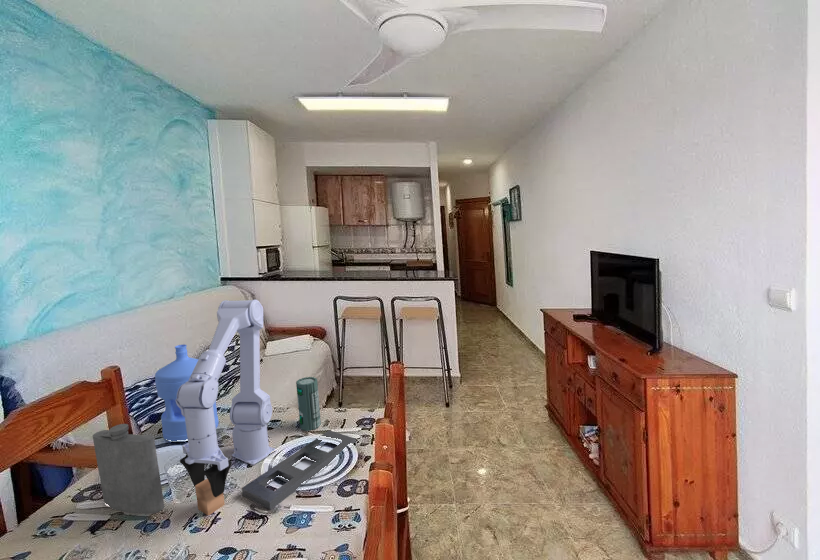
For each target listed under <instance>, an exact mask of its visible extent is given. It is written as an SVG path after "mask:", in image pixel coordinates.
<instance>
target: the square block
mask: <svg viewBox="0 0 820 560" xmlns="http://www.w3.org/2000/svg"><path fill="white" fill-rule="evenodd" d="M194 489H195V497H196V504H197V510H199V511H200V512H201V513H203V514H204V515H206V516H210V515H212V514H213V513H215V512H216V511H218V510H220V509H221V508H222V507H224V506H225V505H226V504H225V495H224V493H222V494H221V495H219V496H217V497H214V496H213V493H212V490H211V486H210V483H209V481H208V479H207V478H206V479H205V480H204V481H202V482H200V483H199V484H197V485H195V486H194Z"/></svg>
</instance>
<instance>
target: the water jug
mask: <svg viewBox="0 0 820 560" xmlns="http://www.w3.org/2000/svg"><path fill="white" fill-rule="evenodd" d="M174 349H175V356H176V357H175V358H176V359H175V360H173V361H171V362H170V363H168V364H166V365H165V366H163V367H161V368H159V369H158V370H157V371H156V372H155V373H154V378H155V379H154V382H155V383H154V384H155V388H156V394H157V396H158V398H160V399H162V400H163V401H164V406H165V410H164V411H163V413H162V414H161V416H160V418H161V419H160V420H161V427H162V437H163V439H164V440H165V439H167V440H171V441H177V440H186V439H188V437H187V430H186V422H185V417H184V416H183V415H182V413H181V409H180V408H179V407H178V406H177V404H176V399H177V392H178V389H179V388H180V386H181V385H183V384H185V382H187V381H188V380H189V378H190V376H191V374H192V372H193V370H194V368H195V366H196V364H197V362H198V360H199V358H194V357H189V356H188V350H187V344H177V345H175V346H174ZM216 401H217V400H216ZM216 401H215V403H214V404H213V410H214V418H215V426H216V429H217V427H218V426H219V423H220V421H219V416H218V410H217V402H216Z"/></svg>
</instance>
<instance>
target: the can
mask: <svg viewBox="0 0 820 560" xmlns="http://www.w3.org/2000/svg"><path fill="white" fill-rule="evenodd" d="M318 383H319V382H318V378H316V377H315V376H306V377H302V378H299V379H298V380H296V382H295V387H296V395H297V406H298V417H299V428H300V429H301V430H302V431H305V432H306V431H307V432H309V431H311V430H312V429H313V430H312V431H314V430H317V429H319V428H320V427H321V426H320V425H322V421H321V419H322V418H321V411H320V410H321V409H320V396H319V387H318V385H319V384H318ZM319 426H320V427H319ZM318 427H319V428H318Z"/></svg>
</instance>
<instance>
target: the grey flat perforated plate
mask: <svg viewBox="0 0 820 560" xmlns="http://www.w3.org/2000/svg"><path fill="white" fill-rule="evenodd" d="M320 436H326V437H331V438H336V439H337V438H338V439H341V440H342V443H340V444H339V445H338V446H335V447H333V448H332V449H330V450H329V451H325V450H323V449H321V448H320V449H317V448H315V447H316V446H318V445H319V443H320V442H321V441H322V440H318V439H317V438H315V439H313V440H312V441H311V442H309V443H308V444H307V445H305V446H303V447H301V448H300V449H298V450H297V451H296V452H294V453H293V454H291V455H289V456H288V457H287V458H284V459H283V460H282V461H280V462H279V463H277V464H275V465H274V466H273V467H272V468H270V469H268V470H266V471H265V472H264V473H262V474H260V475H259V476H257V478H255V479H253V480H252V481H250V482H248V483H246V485H244V486H242V487H241V493H242V497H245V498H246V499H248V500H250V501H252V502H253V503H256V504H258V505H260V504H261V505H260V506H262V507H264V508H266V509H267V510H270V511H271V510H272V509H274V508H275V507H276V506H277V505H279V504H280V503H282V502H283V501H284V500H286V499H287V498H288V497H289V496H292V494H293V493H295V492H296V491H297V490H298V489H297V488H298V487H299V486H300V485H301V483H303V482H304V481H306V480H307V479H309V478H311V477H312V476H314V475H315V474H316V473H318V472H319V471H320V470H321V469H322V468H324V467H325V466H327V465H328V464H329V463H330V462H331V461H332V460H333V459H334V458H335V457H336V455H338V454H339V453H340V452H341V451H342V450H343V449H344V448H345V447H346V446H347V445H348V444H350V443H356V437H352V436H349V435H345V434H342V433H339V432H336V431H332V430H330V429H329V430H327V431H326V432H324V433H323V434H321V435H320ZM304 456H306V457H308V458H310V459H311V460H314V461H316V462H312V463H311V464H310V465H309V466H307V467H306V468H304V469H301V468H298V467H296V466H292V465H293V464H294V463H296V462H297V461H298V460H300V459H301V458H302V457H304ZM327 467H328V466H327ZM318 474H319V473H318ZM278 475H279V476H282V477H284V478H285V479H288V480H289V481H286V482H285V483H284V484H282V485H281V486H280V487H278V488H277V489H275V490H272V489H271V488H268V487H266V486H268V485H269V484H267V482H268V481H269V480H271V479H274V478H275V477H276V476H278ZM314 477H315V476H314ZM296 489H297V490H296Z"/></svg>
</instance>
